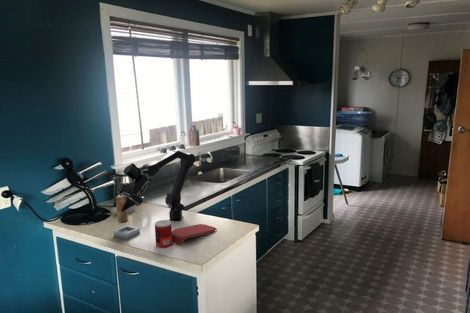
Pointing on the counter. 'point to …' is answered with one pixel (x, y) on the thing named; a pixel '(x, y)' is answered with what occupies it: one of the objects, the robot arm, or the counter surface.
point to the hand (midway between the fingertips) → (119, 209)
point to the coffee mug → (131, 208)
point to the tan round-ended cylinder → (120, 203)
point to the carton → (190, 232)
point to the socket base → (126, 232)
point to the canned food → (163, 233)
